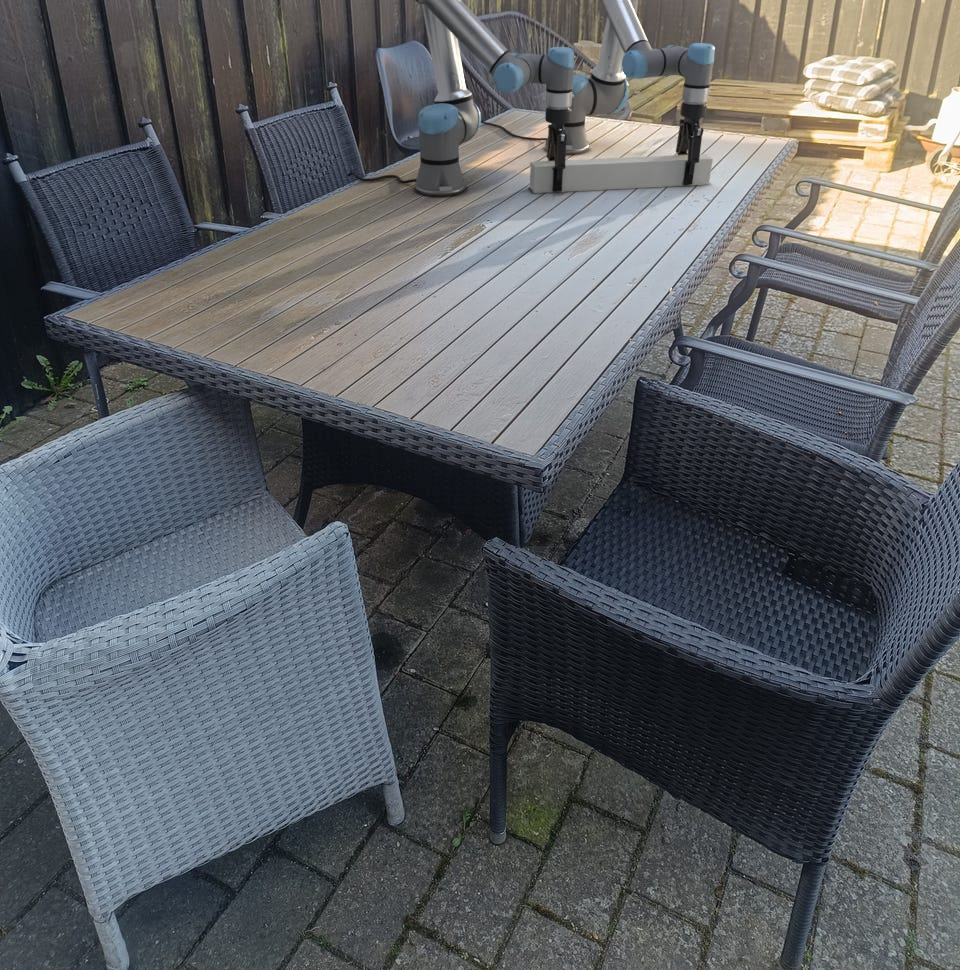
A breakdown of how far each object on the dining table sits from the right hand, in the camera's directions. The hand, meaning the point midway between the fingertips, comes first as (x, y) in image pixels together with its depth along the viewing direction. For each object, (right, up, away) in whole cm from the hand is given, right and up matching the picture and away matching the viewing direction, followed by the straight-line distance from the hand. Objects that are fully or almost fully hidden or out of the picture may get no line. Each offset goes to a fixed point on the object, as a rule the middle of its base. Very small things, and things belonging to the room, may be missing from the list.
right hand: (683, 181), depth 264 cm
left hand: (-41, -4, -5) cm, 42 cm away
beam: (-21, -2, -2) cm, 21 cm away
